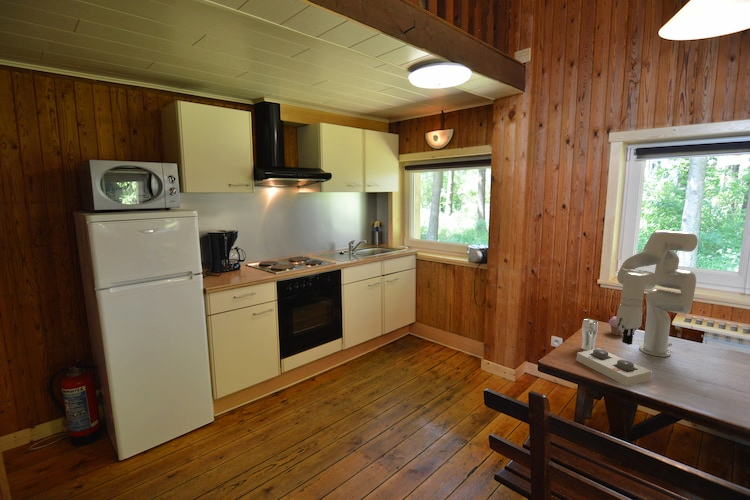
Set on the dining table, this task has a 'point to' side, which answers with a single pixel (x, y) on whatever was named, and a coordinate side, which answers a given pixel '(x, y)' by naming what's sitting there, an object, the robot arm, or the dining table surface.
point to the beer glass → (589, 334)
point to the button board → (614, 368)
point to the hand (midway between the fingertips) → (627, 343)
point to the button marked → (625, 365)
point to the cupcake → (614, 326)
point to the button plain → (600, 354)
